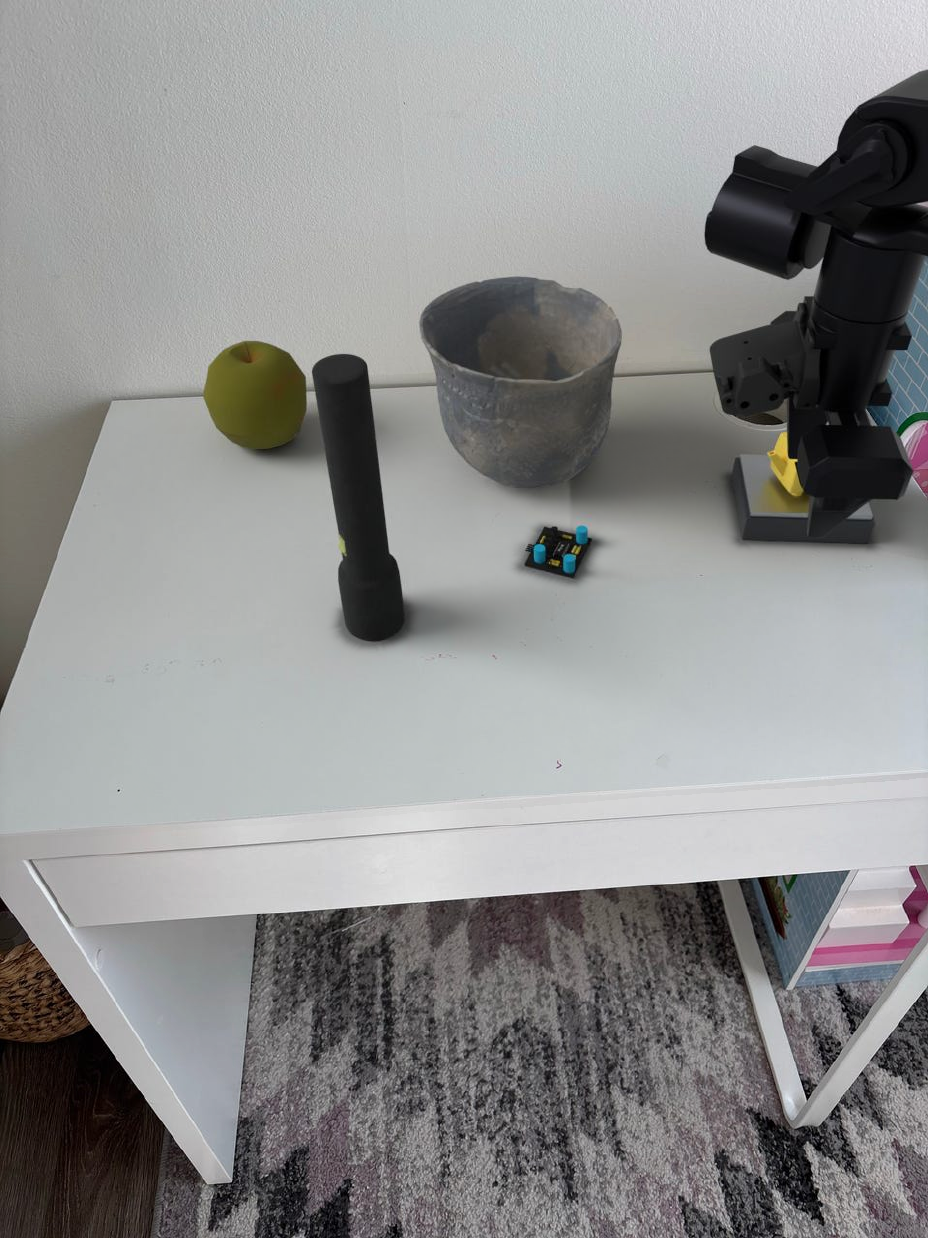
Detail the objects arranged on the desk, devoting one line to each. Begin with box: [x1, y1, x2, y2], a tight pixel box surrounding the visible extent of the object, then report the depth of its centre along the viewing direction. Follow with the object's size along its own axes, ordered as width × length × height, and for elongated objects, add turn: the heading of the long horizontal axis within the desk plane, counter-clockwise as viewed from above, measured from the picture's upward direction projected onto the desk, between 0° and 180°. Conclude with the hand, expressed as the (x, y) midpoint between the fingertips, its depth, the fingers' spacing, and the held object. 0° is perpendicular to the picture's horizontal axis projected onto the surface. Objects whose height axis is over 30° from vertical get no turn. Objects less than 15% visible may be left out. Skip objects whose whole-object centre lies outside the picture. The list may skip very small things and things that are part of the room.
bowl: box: [418, 275, 623, 489], centre depth 89 cm, size 18×18×15 cm
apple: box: [202, 340, 308, 450], centre depth 95 cm, size 10×10×11 cm
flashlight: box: [311, 353, 406, 642], centre depth 72 cm, size 5×24×5 cm
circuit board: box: [524, 525, 593, 579], centre depth 85 cm, size 5×2×5 cm
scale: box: [730, 453, 876, 544], centre depth 88 cm, size 11×9×3 cm
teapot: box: [766, 431, 803, 496], centre depth 85 cm, size 8×6×5 cm
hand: (804, 495), depth 72 cm, fingers open, 9 cm apart
